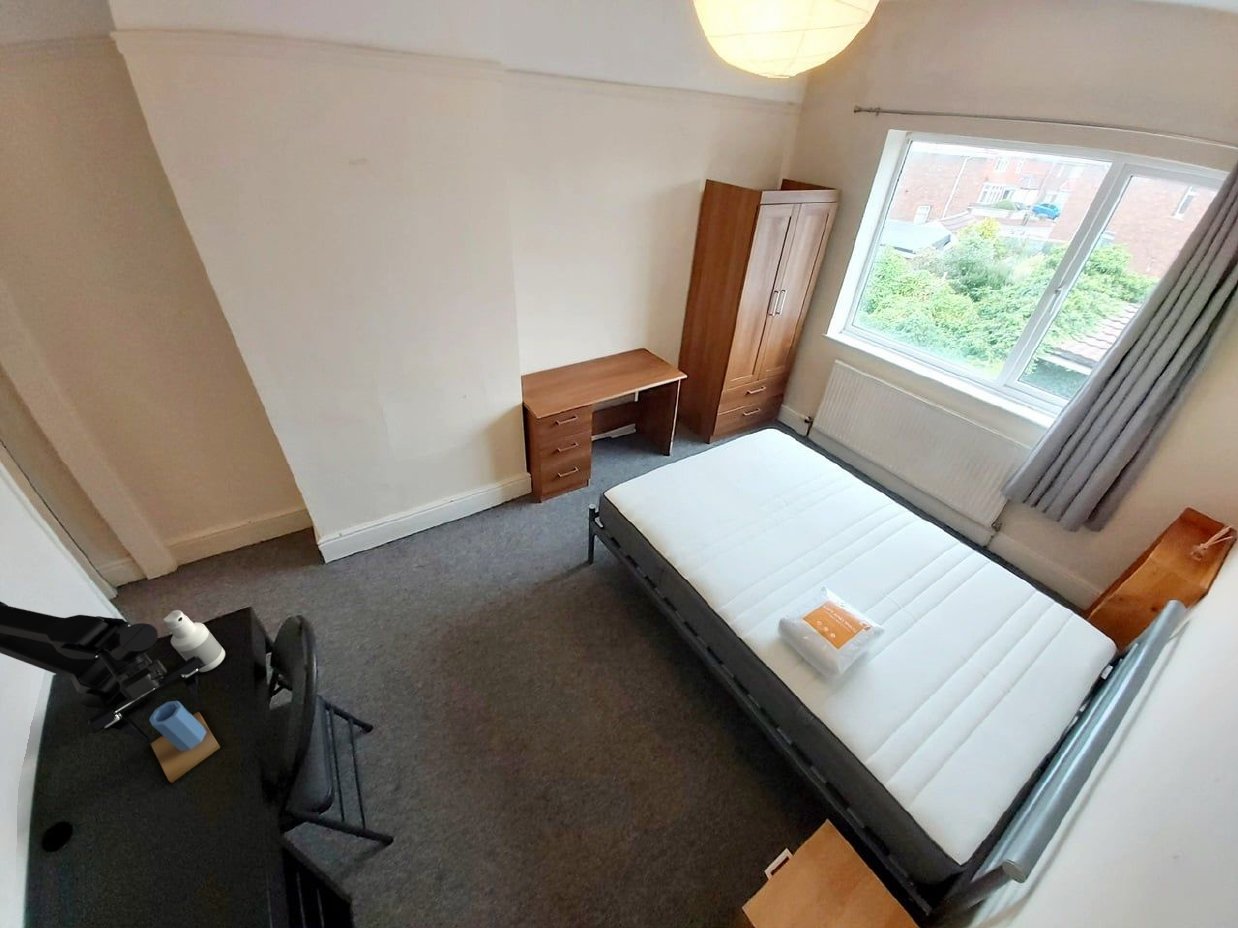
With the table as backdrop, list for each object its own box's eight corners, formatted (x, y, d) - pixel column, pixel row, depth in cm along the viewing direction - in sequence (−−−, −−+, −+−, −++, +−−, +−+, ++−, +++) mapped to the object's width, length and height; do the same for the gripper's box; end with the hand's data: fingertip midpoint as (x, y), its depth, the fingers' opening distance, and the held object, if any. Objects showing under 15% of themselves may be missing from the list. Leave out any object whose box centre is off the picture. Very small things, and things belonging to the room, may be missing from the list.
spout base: (153, 746, 109) (142, 736, 106) (200, 714, 115) (191, 704, 112) (171, 783, 103) (160, 774, 100) (220, 747, 109) (211, 737, 106)
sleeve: (174, 740, 109) (146, 714, 102) (200, 722, 112) (175, 696, 105) (182, 755, 106) (154, 729, 100) (209, 736, 109) (183, 710, 103)
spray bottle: (209, 675, 122) (171, 630, 112) (186, 670, 124) (146, 625, 113) (232, 651, 128) (197, 606, 117) (210, 646, 129) (173, 601, 119)
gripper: (58, 700, 91) (110, 767, 92) (178, 632, 103) (223, 692, 104) (75, 697, 100) (122, 759, 101) (184, 635, 112) (226, 690, 113)
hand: (175, 724), depth 104 cm, fingers open, 9 cm apart
